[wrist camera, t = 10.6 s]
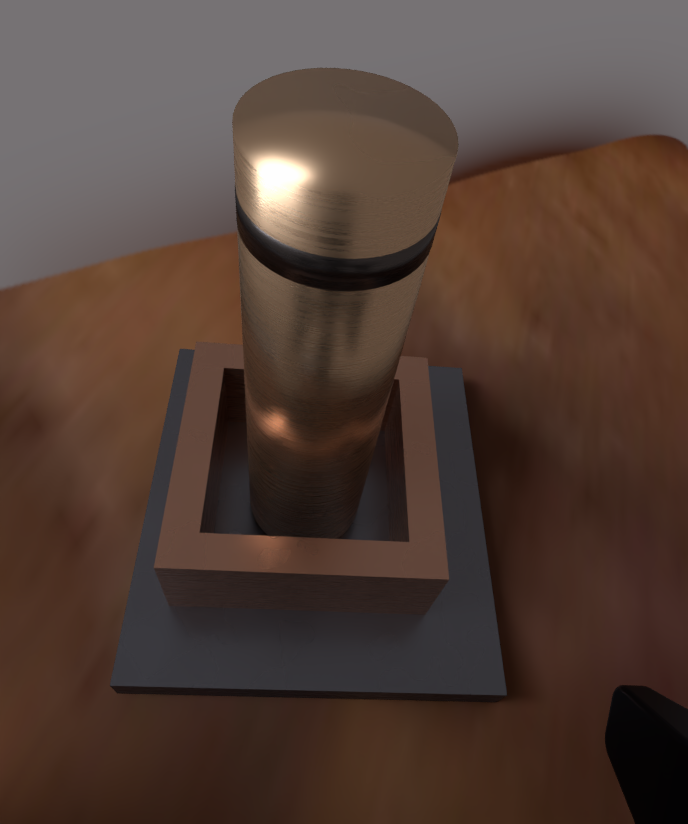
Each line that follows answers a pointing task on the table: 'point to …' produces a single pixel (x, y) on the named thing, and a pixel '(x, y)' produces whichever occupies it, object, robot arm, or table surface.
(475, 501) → the frame
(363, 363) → the gold metallic cylinder
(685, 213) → the table surface
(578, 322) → the table surface
